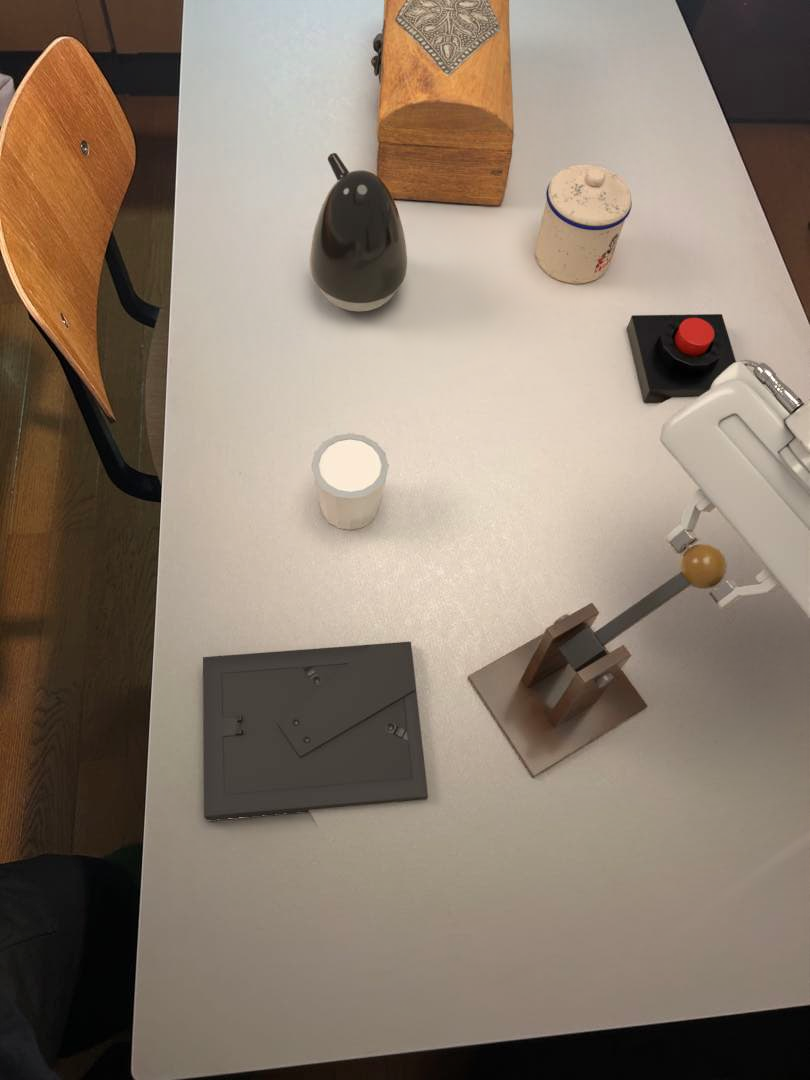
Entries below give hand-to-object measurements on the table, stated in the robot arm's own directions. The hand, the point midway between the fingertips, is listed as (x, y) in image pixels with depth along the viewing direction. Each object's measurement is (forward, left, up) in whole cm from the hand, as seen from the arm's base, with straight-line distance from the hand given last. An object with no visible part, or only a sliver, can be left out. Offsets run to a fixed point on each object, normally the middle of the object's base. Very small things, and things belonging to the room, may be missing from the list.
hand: (693, 573), depth 71 cm
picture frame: (+29, +6, -15) cm, 34 cm away
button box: (-11, -32, -15) cm, 37 cm away
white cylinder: (+25, -16, -15) cm, 33 cm away
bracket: (+8, +4, -15) cm, 18 cm away
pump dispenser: (+23, -43, -15) cm, 51 cm away
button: (-11, -32, -11) cm, 35 cm away
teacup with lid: (-2, -49, -15) cm, 51 cm away
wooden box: (+12, -71, -15) cm, 73 cm away
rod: (+3, +2, -3) cm, 5 cm away
